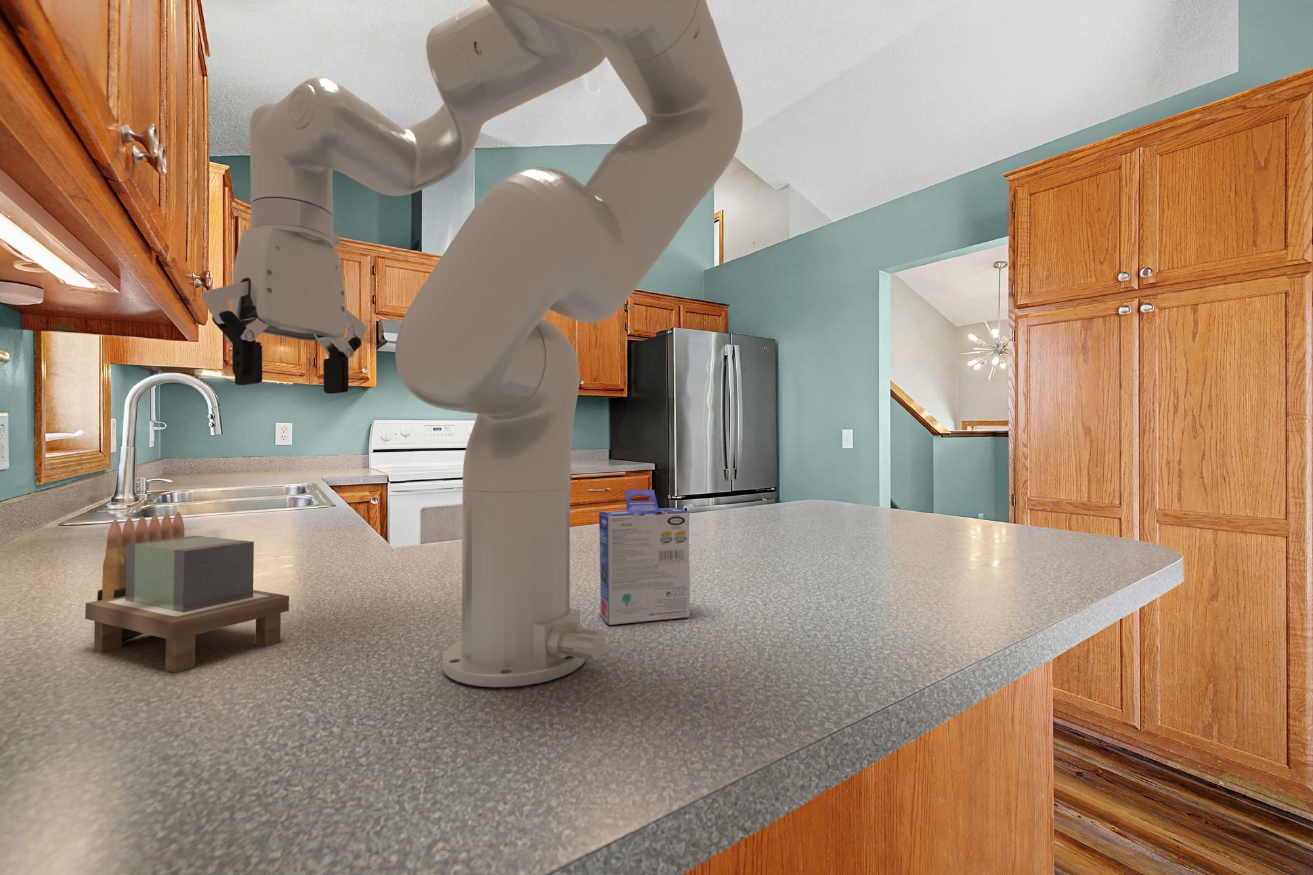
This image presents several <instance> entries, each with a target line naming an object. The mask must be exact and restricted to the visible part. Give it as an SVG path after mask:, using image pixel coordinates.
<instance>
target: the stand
mask: <svg viewBox="0 0 1313 875" xmlns="http://www.w3.org/2000/svg"><path fill="white" fill-rule="evenodd" d="M289 611H290V595H286V594H281V593H280V594H279V593H275V592H274V593H273V592H268V591H262V590H255V589H253V597H252V598H247V599H243V600H238V601H234V602H229V603H224V604H220V605H215V606H211V607H206V608H201V609H197V610H192V611H188V612H178V611H174V610H169V609H164V608H159V607H155V606H150V605H145V604H140V603H135V602H131V601H126V600H125V596H122V597H119V598H111V599H105V600H100V601H97V600H96V601H90V602H85V615H84V618H85V620H89V621H93V622H94V627H93V628H94V632H93V633H94V635H93V636H94V637H93V638H94V639H93V649H94V651H98V652H106V651H110V650H114V649H119V648H122V645H123V644H122V642H123V640H122V628H125V629H129V630H133V631H137V632H141V633H140V634H146V635H150V636H154V637H158V638H161V639H165V671H168V672H170V673H174V674H175V673H179V672H182V671H186V670H189V669H192V668H195V667H196V635H198V634H201V633H202V634H203V633H206V632H210V631H214V630H218V629H222V628H226V627H229V626H230V627H231V626H234V625H238V624H242V623H246V622H249V621H255V645H258V646H262V647H267V646H271V645H273V644H277V643H280V642H281V630H282V629H281V626H282V624H281V623H282V622H281V619H282V613H285V612H289Z"/></svg>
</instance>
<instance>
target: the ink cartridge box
mask: <svg viewBox="0 0 1313 875" xmlns="http://www.w3.org/2000/svg"><path fill="white" fill-rule="evenodd" d="M624 492H625V503H626V509H625V510H609V511H605V510H604V511H599V512H598V521H599V522H598V523H599V530H598V532H599V569H600V570H599V571H600V572H599V574H600V575H599V577H600V579H599V580H600V582H599V584H600V590H599V592H600V594H599V595H600V598H599V599H600V606H599V607H600V608H599V609H600V612H599V614H600V616H601V618H602V620H604V621H605V623H606V624H607V625H608V626H609V625H610V626H613V625H614V626H615V625H621V624H632V623H644V622H650V621H662V620H673V619H674V620H675V619H682V618H684V619H685V618H689V617H690V616H691V610H690V609H691V604H690V603H691V602H690V601H691V597H690V596H691V592H690V589H691V588H690V512H689V511H688V510H684V509H680V508H677V507H666V508H659V505H658V502H657V497H656V494H655V489H626V490H625V491H624ZM637 496H645V497H649V498H650V500H648V501H647V500H639V501H636V500H635V501H633V500H632V498H634V497H637Z"/></svg>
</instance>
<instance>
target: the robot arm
mask: <svg viewBox="0 0 1313 875" xmlns="http://www.w3.org/2000/svg"><path fill="white" fill-rule="evenodd" d="M425 46H426V47H425V49H426V58H427V62H428V66H429V70H430V73H431V76H432V79H433V82H434V83H435V86H436V88H437V90H438V93H439V95H440V98H441V99H442V101H443V103H442V105H441V106H440V107H439V109H438V110H437V111H436V112H435V113H434V114H432V115H430V117H428V118H426V119H424V120H421V121H420V122H418V123H416V124H414V125H412V126H409V127H406V128H402V127H401V126H400V125H398V124H397V123H395V122H394V121H392V120H391V119H390V118H389V117H388V116H386V115H384V114H382V113H381V112H380V111H378V110H377V109H376V108H374V107H373V106H371V104H369V103H367V102H365V101H364V100H362V99H361V98H360V97H358V96H356V95H355V94H354V93H352V92H351V91H350V90H348V89H347V88H345V87H344V86H342V85H341V84H339V83H338V82H336V81H334V80H331V79H329V78H326V77H317V76H316V77H312V78H309V79H307V80H305V81H303V82H302V83H300V84H299V85H297V86H296V87H295V88H294V89H293V90H291V91H290V92H289V93H288V94H287V95H286V96H285V97H283V99H281V100H279V101H278V102H272V103H271V102H270V103H265V104H262V105H259V106H258V107H256V109H255V110H253V112H252V114H251V116H250V123H249V153H250V154H249V155H250V156H249V157H250V158H249V159H250V160H249V162H250V163H249V164H250V166H249V167H250V168H249V169H250V171H249V174H250V228H249V229H245V230H243V231H242V233H241V236H240V240H239V243H238V248H237V250H236V257H235V261H234V268H233V276H232V278H233V279H232V284H230V285H226V286H220V287H216V288H212V289H208V290H205V291H203V292H202V293H201V298H202V300H203V302H204V304H205V305H206V308H207V310H208V311H209V314H211V316H212V317H211V320H212V322H213V323H214V325H216V327H217V328H218V329H219V331H221V332H222V333H223V334H224V335H225V340H226V342H227V343H228V344H230V345H232V346H231V348H232V350H231V351H232V352H231V353H232V354H231V356H232V357H231V358H232V367H231V368H232V373H233V375H234V383H235V385H236V386H249V385H257V384H260V383H262V382H263V346H262V342H259V341H256V339H257V338H259V336H260V335H261V334H265V335H271V336H276V337H282V338H287V339H293V340H297V341H305V342H318V344H319V345H320V347H321V348H322V349H323V351H324V352H325V354H326V355H327V357H328V358H324V359H323V363H322V364H323V365H322V366H323V392H324V393H326V394H328V395H329V394H330V395H332V394H343V393H347V392H349V381H350V380H349V379H350V378H349V359H352V358H353V357H354V355H355V352H357V350H358V349H359V348H360V347H361V345H362V341H363V340H364V339H363V338H364V337H365V335H366V333H367V330H368V328H367V325H366V324H365V323H364V322H363V321H361V320H360V319H359V318H358V317H357V316H355V315H354V314H352V313H351V312H350V311H349V310H348V309H347V301H346V291H345V290H346V289H345V281H344V280H345V279H344V275H343V269H342V266H341V265H342V264H341V260H340V256H339V251H338V250H337V249H335V248H336V247H337V248H338V247H339V245H340V244H341V237H340V236H339V235H338V234H335V233H334V194H333V192H334V191H333V187H334V186H333V184H334V183H333V170H334V171H337V172H339V173H341V174H343V175H345V176H347V177H349V178H350V179H353V180H355V181H356V182H358V183H360V184H362V185H363V186H366V187H367V188H369V189H371V190H373V191H374V192H377V193H379V194H380V195H381V194H382V195H383V196H388V197H389V196H390V197H401V196H407V195H411V194H415V193H417V192H420V191H422V190H424V189H426V188H428V187H430V186H433V185H436V184H438V183H440V182H442V181H444V180H446V179H448V178H449V177H451V176H453V174H455V173H456V172H457V171H458V170H459V169H460V168H461V167H462V165H463V164H464V163H465V161H466V160H467V159H468V158H469V156H470V155H471V153H472V151H473V149H474V148H475V146H476V144H477V143H478V138H479V136H480V132H481V130H482V126H483V125H484V124H485V123H486V122H488V121H490V120H492V119H493V118H495V117H497V116H500V115H502V114H505V113H507V112H509V111H511V110H512V109H514V108H516V107H519V106H521V105H524V104H525V103H527V102H530V101H531V100H533V99H536V98H538V97H540V96H542V95H544V94H547V93H549V92H551V91H553V90H555V89H558V88H559V87H561V86H564V85H566V84H567V83H570V82H572V81H574V80H576V79H579V78H580V77H582V76H583V75H586V74H588V73H590V72H592V71H593V70H594V69H596V68H597V67H598V66H600V65H601V64H602V63H603V62H604V60H605V59H607V60H608V62H609V63H610V65H611V67H612V68H613V70H614V72H615V73H616V75H617V76H618V77H619V79H620V81H621V82H622V83H623V85H624V86H625V88H626V89H627V91H628V92H629V94H630V96H631V97H632V99H633V100H634V102H635V103H636V105H637V106H638V108H639V109H640V111H641V112H642V113H643V115H644V117H645V120H646V123H645V124H642V125H640V126H638V127H636V128H634V129H633V130H631V131H630V132H629V133H627V134H626V135H624V136H623V137H621V139H619V140H618V141H617V142H616V143H615V144H614V145H613V146H612V147H611V148H610V149H609V150H608V151H607V153H606V155H605V156H604V157H603V159H602V160H601V162H600V164H599V165H598V167H597V168H596V170H595V172H593V174H592V175H591V177H590V178H588V180H587V182H586V183H585V184H583V183H581V182H580V181H579V180H577V179H576V178H575V177H573V176H571V175H570V174H568V173H565V172H564V171H562V170H559V169H556V168H551V167H542V166H537V167H529V168H526V169H522V170H518V171H516V172H513V173H512V174H510V175H508V176H506V177H504V178H503V179H501V181H499V182H497V183H496V184H495V185H494V186H492V187H491V188H490V189H489V190H488V191H487V192H486V193H485V194H484V196H482V197H481V199H480V200H479V201H478V202H477V204H476V206H475V207H474V208H473V209H472V211H471V212H470V214H469V215H468V217H467V218H466V220H465V221H464V222H463V225H462V226H461V227H460V228H459V230H458V232H457V233H456V235H455V236H454V238H453V240H452V241H451V242H450V244H449V245H448V246H447V249H446V250H445V251H444V253H443V254H442V256H441V257H440V259H439V260H438V262H437V263H436V265H435V266H434V268H433V269H432V271H431V272H430V274H429V275H428V276H427V279H426V280H425V281H424V283H423V284H422V286H421V287H420V289H419V291H418V292H417V293H416V295H415V296H414V298H413V300H411V301H412V302H411V303H410V305H409V307H408V309H407V310H406V313H405V315H404V316H403V318H402V320H401V324H400V326H399V329H398V333H397V336H396V340H395V348H394V349H395V350H394V351H395V352H394V353H395V355H394V356H395V364H396V365H395V366H396V369H397V372H398V375H399V377H400V380H401V381H402V383H403V385H404V386H405V388H406V389H407V391H408V392H410V393H411V394H412V395H413V396H414V397H415V398H417V399H418V400H420V401H422V402H423V403H426V404H427V405H429V406H431V407H432V406H433V407H435V408H438V409H442V410H446V411H452V412H459V413H460V412H461V413H469V414H477V416H476V419H475V421H474V423H473V427H472V429H471V432H470V435H469V437H468V441H467V445H466V447H465V448H466V449H465V454H464V458H463V467H462V469H463V470H462V505H461V506H462V507H461V508H462V512H461V513H462V514H461V515H462V518H461V519H462V522H461V523H462V529H461V531H462V533H461V534H462V535H461V537H462V538H461V539H462V540H461V542H462V543H461V544H462V545H461V547H462V548H461V569H462V570H461V640H459V641H457V642H456V643H454V644H452V645H451V646H450V647H448V648H447V649H446V650H445V651H444V653H443V656H442V667H441V668H442V670H443V673H444V675H446V676H447V677H448V678H449V679H451V680H453V681H455V682H457V683H462V684H465V685H469V686H473V687H474V686H475V687H480V688H481V687H484V688H512V687H513V688H514V687H523V686H532V685H535V684H536V685H537V684H541V683H546V682H549V681H553V680H555V679H558V678H559V679H560V678H562V677H564V676H566V675H568V674H570V673H573V672H574V671H576V670H578V669H579V668H580V667H581V666H582V665H583V664H584V663H585V661H586V660H591V661H597V660H599V659H600V658H601V656H602V654H603V651H604V641H605V631H604V629H602V628H595V627H583V625H582V623H581V609H579V608H573V607H572V608H571V604H570V603H571V595H570V594H571V588H570V587H571V585H570V584H571V573H570V572H571V560H570V559H571V549H570V548H571V519H570V518H571V506H570V505H571V470H572V469H571V466H572V465H571V462H572V457H571V456H572V440H573V439H572V438H573V437H572V436H573V429H574V427H573V426H574V420H575V413H576V407H577V402H578V401H577V400H578V396H579V387H580V366H579V360H578V357H577V353H576V350H575V348H574V347H573V345H572V343H571V341H570V340H569V338H568V337H567V336H566V335H565V334H564V332H563V331H562V330H561V329H559V328H558V327H556V326H555V325H554V324H552V322H550V321H548V320H547V319H545V318H544V317H545V315H546V314H547V313H548V311H552V312H554V313H556V314H559V315H561V316H563V317H566V318H568V319H571V320H573V321H577V322H581V323H586V324H591V323H599V322H603V321H605V320H607V319H609V318H611V317H612V316H614V315H615V314H616V313H618V311H619V310H620V309H622V307H624V305H625V304H626V302H627V301H628V299H629V298H630V297H631V296H632V295H633V293H634V291H636V289H637V288H638V286H639V285H640V283H641V282H642V281H643V279H644V278H645V277H646V275H647V274H648V273H649V271H650V270H651V269H652V268H653V266H654V265H655V264H656V262H657V261H658V259H659V258H660V256H662V254H663V252H664V251H665V250H666V249H667V247H668V246H669V245H670V243H671V242H672V241H673V239H675V237H676V236H677V233H679V230H680V229H682V228H681V227H682V226H683V225H684V224H685V223H686V221H687V220H688V218H690V215H691V214H692V213H693V211H694V210H695V209H696V208H697V207H698V205H699V204H700V203H701V201H702V200H703V199H704V197H706V195H707V194H708V192H710V190H711V189H712V188H713V186H714V185H715V184H716V183H717V182H718V181H719V179H720V178H721V177H722V175H723V173H724V172H725V171H726V169H727V167H728V166H729V165H730V164H731V162H732V159H733V157H734V156H735V154H736V152H737V150H738V147H739V143H740V141H741V136H742V133H743V121H744V120H743V118H744V116H743V115H744V113H743V104H742V101H741V97H740V93H739V91H738V86H737V84H736V81H735V78H734V75H733V73H732V70H731V68H730V65H729V62H728V59H727V57H726V54H725V51H724V48H723V45H722V43H721V40H720V37H719V34H718V30H717V28H716V25H715V22H714V19H713V17H712V14H711V12H710V9H709V6H708V3H707V0H480V1H478V2H476V3H475V4H473V5H471V6H469V7H467V8H465V9H464V10H462V11H459V12H458V13H456V14H454V15H452V16H451V17H449V18H447V19H445V20H443V21H441V22H439V23H437V24H435V25H434V26H433V27H432V28H431V29H430V31H429V33H428V34H427V37H426V44H425ZM334 247H335V248H334ZM230 300H231V304H229V301H230ZM230 306H231V307H230ZM346 329H347V334H346V337H345V333H346Z"/></svg>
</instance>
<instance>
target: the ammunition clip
mask: <svg viewBox="0 0 1313 875" xmlns="http://www.w3.org/2000/svg"><path fill="white" fill-rule="evenodd" d="M161 520H162V521H161V523H160V520H159V517H158V516H157V515H156V514H154V515H152V517H151V519H150V521H149V524H148V522H147V520H146V518H145V517H144V516H143V515H141V516H140V518H139V519H138V521H137V524H136V527H135V524H134V521H133V519H132V518H131V517H128V518H127V519H126V520H125V523H124V525H123V528H121V525H120V523H119V521H118V519H114V520H113V521H112V522H111V523H110V526H109V529H108V533H107V539H106V548H105V557H104V560H103V564H102V580H101V581H102V583H101V584H102V586H101V588H102V589H100V590H97V599H96V601H100V600H105V599H111V598H119V597H122V596H125V595H126V544H128V543H137V542H145V541H154V540H162V539H171V538H180V537H186V536H185V525H184V524H185V523H184V518H183V516H182V514H181V512H180V511H177V512H176V514H175V516H174V518H173V520H172V519H171V516H170V514H169V513H167V512H166V513H165V514H164V515H163V517H162V519H161ZM139 634H142V633H141V632H137V631H133V630H129V629H125V628H122V641H123V640H126V639H128V638H130V637H134V636H136V635H139Z"/></svg>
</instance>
